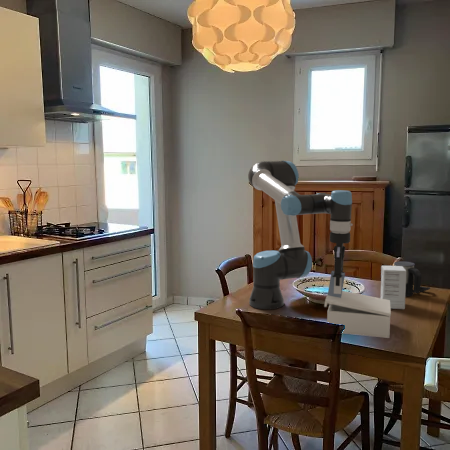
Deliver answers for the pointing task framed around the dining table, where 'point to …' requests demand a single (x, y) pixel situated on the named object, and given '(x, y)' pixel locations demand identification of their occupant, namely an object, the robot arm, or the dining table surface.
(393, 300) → the supplement box
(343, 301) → the mailer lid
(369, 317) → the mailer box
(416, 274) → the milk frother
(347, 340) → the dining table surface
